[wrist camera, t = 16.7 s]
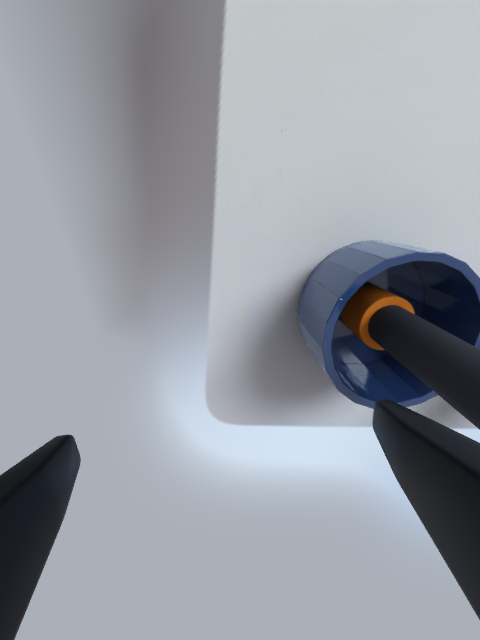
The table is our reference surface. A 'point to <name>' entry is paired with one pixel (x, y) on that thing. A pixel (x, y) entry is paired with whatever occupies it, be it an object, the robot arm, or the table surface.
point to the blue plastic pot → (402, 280)
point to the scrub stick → (418, 346)
